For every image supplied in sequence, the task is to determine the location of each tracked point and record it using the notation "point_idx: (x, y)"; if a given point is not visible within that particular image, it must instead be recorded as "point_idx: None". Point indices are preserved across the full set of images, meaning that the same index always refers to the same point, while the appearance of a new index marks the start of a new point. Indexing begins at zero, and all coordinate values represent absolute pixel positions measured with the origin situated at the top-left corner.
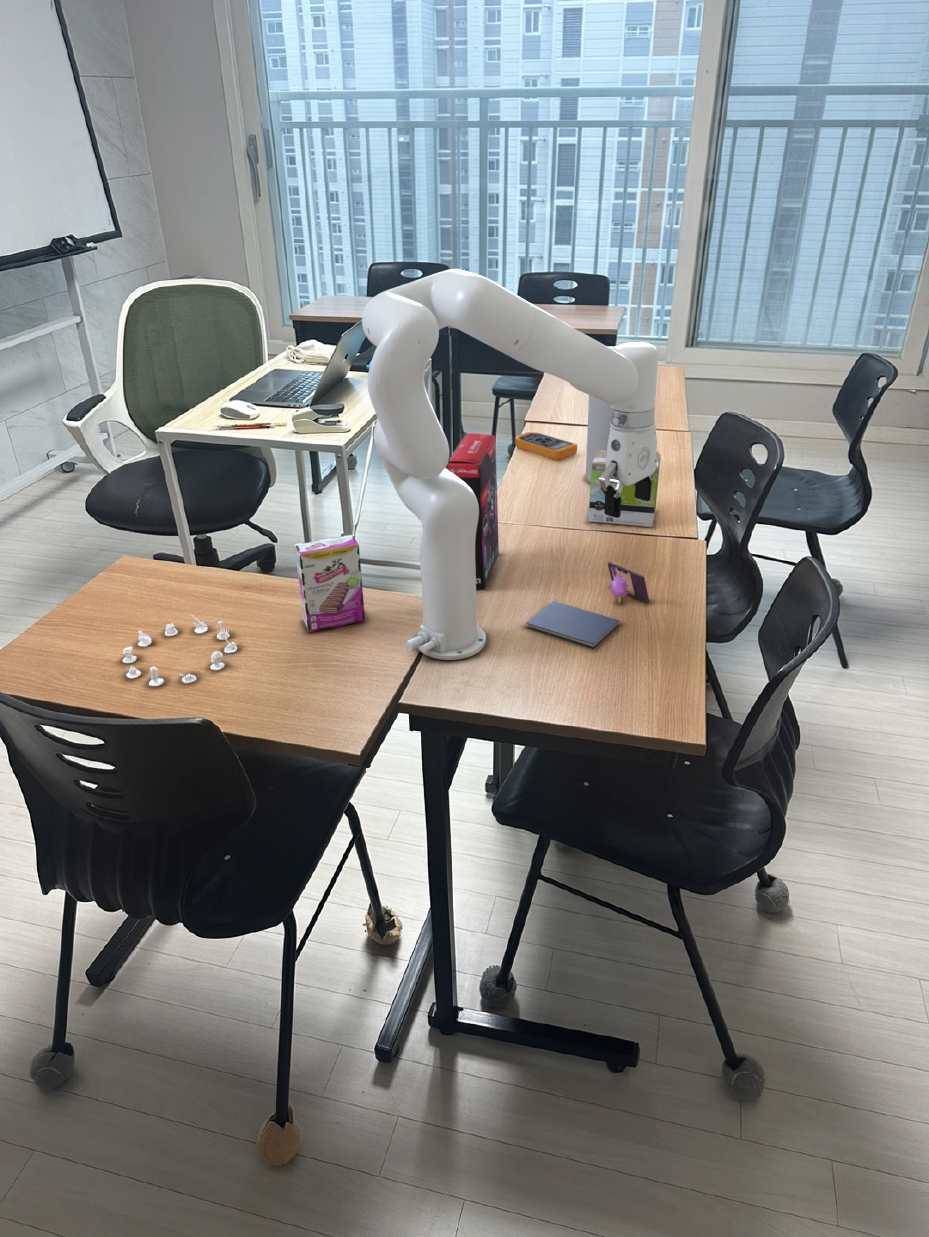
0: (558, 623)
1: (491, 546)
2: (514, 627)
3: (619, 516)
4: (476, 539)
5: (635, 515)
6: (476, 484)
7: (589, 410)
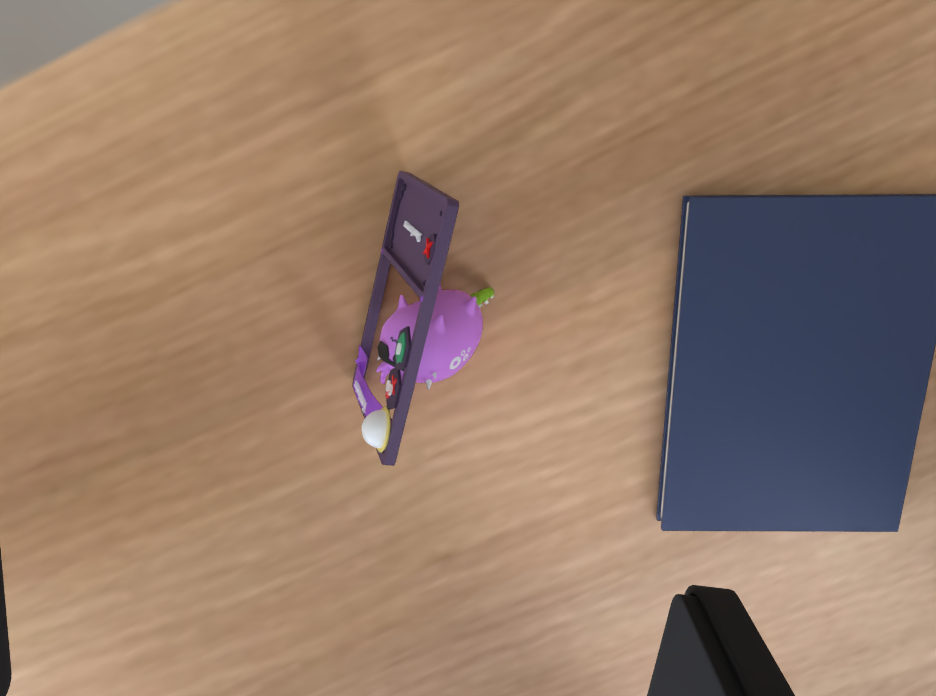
0: (846, 420)
1: None
2: (903, 555)
3: (725, 591)
4: None
5: None
6: None
7: None
